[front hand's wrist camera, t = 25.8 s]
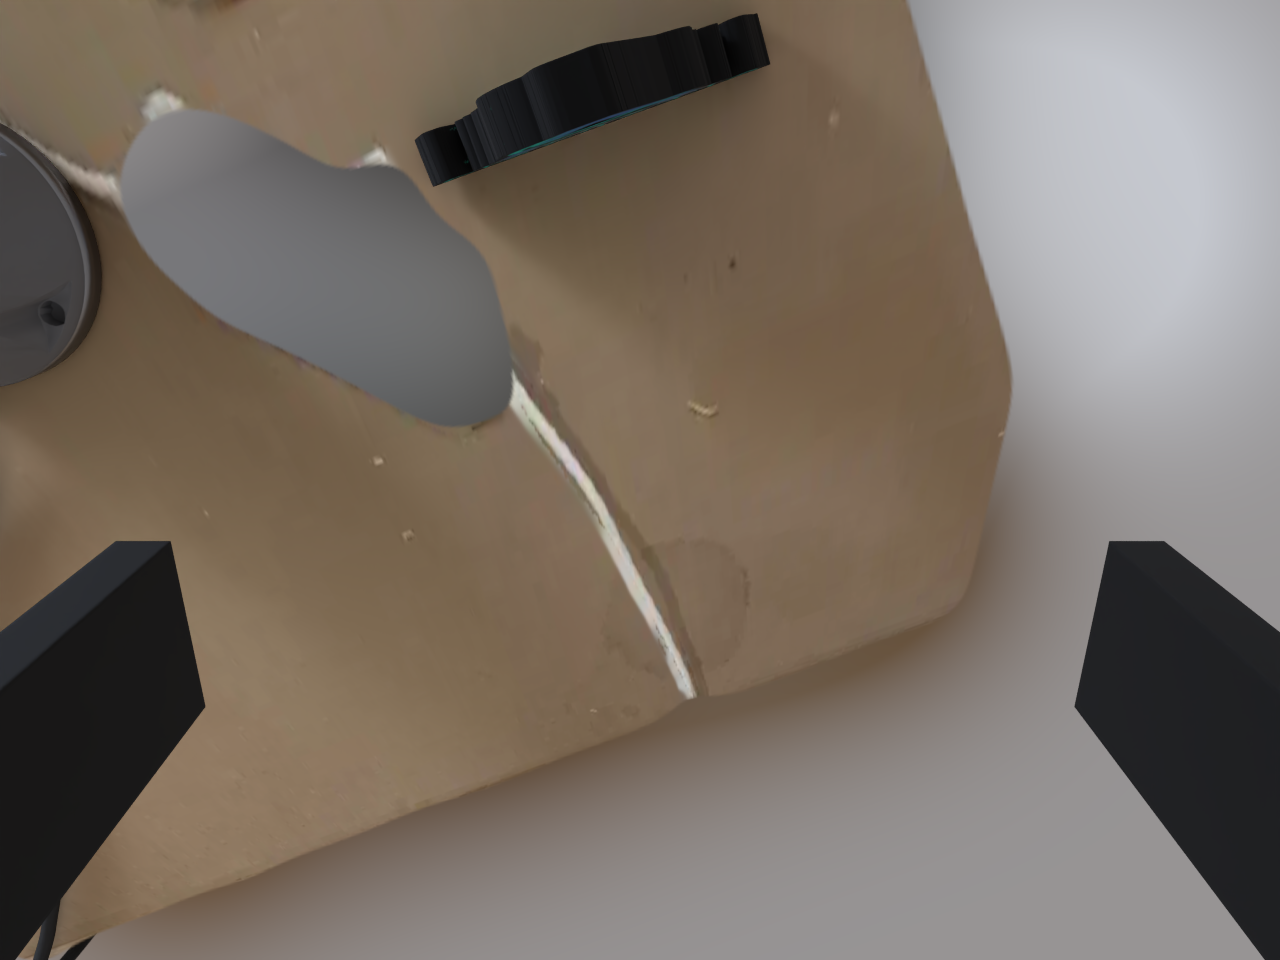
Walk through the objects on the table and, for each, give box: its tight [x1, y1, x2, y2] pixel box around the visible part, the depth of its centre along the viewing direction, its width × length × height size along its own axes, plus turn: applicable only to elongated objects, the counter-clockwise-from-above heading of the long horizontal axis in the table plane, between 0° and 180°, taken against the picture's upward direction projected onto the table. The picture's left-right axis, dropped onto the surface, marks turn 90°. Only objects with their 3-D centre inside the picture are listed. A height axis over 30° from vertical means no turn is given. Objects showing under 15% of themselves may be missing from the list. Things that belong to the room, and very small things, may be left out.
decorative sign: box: [415, 14, 770, 187], centre depth 41 cm, size 19×2×15 cm, turn 109°
